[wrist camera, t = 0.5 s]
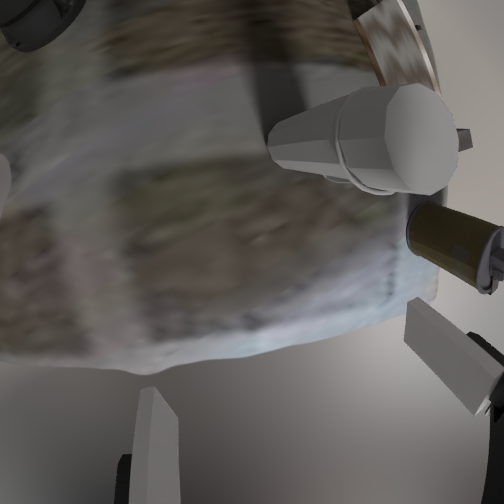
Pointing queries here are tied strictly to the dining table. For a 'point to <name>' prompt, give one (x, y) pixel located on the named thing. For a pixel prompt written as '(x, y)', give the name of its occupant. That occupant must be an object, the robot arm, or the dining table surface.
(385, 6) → the brown wooden box
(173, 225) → the dining table surface
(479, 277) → the canister
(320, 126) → the water bottle
